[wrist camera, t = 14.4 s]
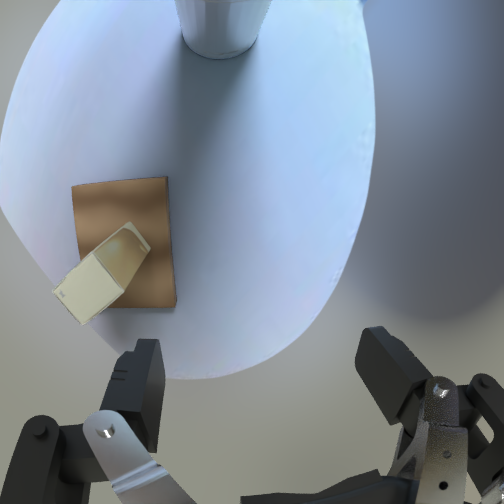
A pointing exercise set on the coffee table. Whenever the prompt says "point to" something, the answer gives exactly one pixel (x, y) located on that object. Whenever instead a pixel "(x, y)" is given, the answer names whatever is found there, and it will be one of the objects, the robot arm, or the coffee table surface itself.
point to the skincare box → (102, 274)
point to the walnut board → (145, 221)
